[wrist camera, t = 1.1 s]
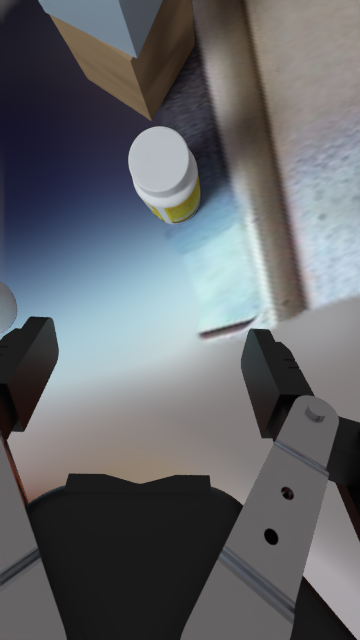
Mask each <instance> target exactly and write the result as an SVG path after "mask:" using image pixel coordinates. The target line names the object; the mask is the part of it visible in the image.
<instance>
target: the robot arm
mask: <svg viewBox="0 0 360 640" xmlns="http://www.w3.org/2000/svg"><path fill="white" fill-rule="evenodd" d="M58 354H59V349H58V343H57V338H56V332H55V327H54V322H53V319H52V318H50V317H29V319H28V320H27V321H26V323H25V324H24V325H23V327H22V328H21V329H18V328H15V329H14V330H12V331H11V332H9V333H8V334H6V335H5V336H3V338H2V339H1V340H0V640H357V639H356V638H355V637H354V635H353V634H352V633H351V632H350V631H349V629H348V628H347V627H346V626H345V625H344V624H343V622H342V621H341V620H340V619H339V618H338V616H337V615H336V614H335V613H334V612H333V611H332V609H331V608H330V607H329V606H328V605H327V603H326V602H325V601H324V600H323V599H322V597H321V596H320V595H319V594H318V593H317V592H316V590H315V589H314V588H313V587H312V586H311V584H310V583H309V582H308V581H307V580H306V579H305V577H304V576H303V572H304V568H305V564H306V560H307V557H308V553H309V549H310V545H311V542H312V538H313V534H314V530H315V527H316V523H317V519H318V515H319V512H320V508H321V504H322V500H323V497H324V493H325V489H326V485H327V481H328V480H330V481H333V482H335V483H336V485H337V488H338V490H339V493H340V495H341V497H342V500H343V502H344V505H345V507H346V510H347V512H348V514H349V517H350V519H351V522H352V524H353V526H354V529H355V532H356V534H357V536H358V539H359V541H360V423H359V422H356V421H352V420H349V419H346V418H342V417H339V416H338V415H337V413H336V411H335V410H334V409H333V408H332V407H331V406H330V405H329V404H328V403H327V402H325V401H324V400H322V399H320V398H317V397H315V396H314V394H313V392H312V390H311V388H310V386H309V384H308V383H307V381H306V379H305V377H304V375H303V373H302V372H301V370H300V369H299V366H298V364H297V362H295V359H294V357H293V355H292V353H291V351H290V350H289V349H288V348H287V347H286V346H285V345H284V344H282V343H281V342H275V340H274V338H273V336H272V334H271V332H270V330H268V329H250V330H249V332H248V335H247V339H246V343H245V346H244V350H243V354H242V358H241V369H242V373H243V377H244V380H245V383H246V387H247V390H248V393H249V397H250V400H251V404H252V407H253V410H254V413H255V417H256V420H257V424H258V427H259V430H260V433H261V437H262V438H272V439H273V442H274V444H273V446H272V448H271V450H270V453H269V455H268V457H267V459H266V461H265V463H264V465H263V467H262V469H261V471H260V473H259V475H258V477H257V479H256V481H255V483H254V486H253V488H252V490H251V492H250V494H249V496H248V498H247V500H246V502H245V504H244V506H243V505H242V504H241V503H240V502H238V501H237V500H236V499H235V498H233V497H232V496H231V495H229V494H227V493H225V492H224V491H221V490H219V489H217V488H214V487H211V485H210V476H209V475H174V476H170V477H166V478H162V479H158V480H155V481H151V482H147V483H143V484H137V483H133V482H130V481H126V480H123V479H120V478H116V477H113V476H109V475H105V474H69V475H68V479H67V482H66V485H65V486H61V487H58V488H56V489H53V490H50V491H49V492H46V493H45V494H42V495H41V496H39V497H38V498H36V499H35V500H33V501H32V502H30V503H29V500H28V498H27V495H26V493H25V490H24V487H23V484H22V482H21V479H20V476H19V473H18V470H17V467H16V465H15V462H14V459H13V456H12V453H11V450H10V448H9V445H8V442H7V439H8V437H9V435H10V433H11V431H14V432H24V430H25V429H26V427H27V424H28V422H29V420H30V418H31V416H32V414H33V412H34V410H35V407H36V405H37V403H38V401H39V399H40V397H41V394H42V393H43V391H44V389H45V386H46V384H47V382H48V380H49V378H50V376H51V374H52V371H53V369H54V367H55V365H56V363H57V360H58Z"/></svg>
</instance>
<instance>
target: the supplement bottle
mask: <svg viewBox="0 0 360 640" xmlns="http://www.w3.org/2000/svg"><path fill="white" fill-rule="evenodd" d="M129 169H130V172H131V175H132V178H133V183H134V186H135V189H136V191H137V193H138V194H139V196H140V197H141V198H142V200H143V201H144V202H145V203H146V205H148V207H149V208H150V210H151V211H152V212H153V213H154V214H155V216H156V217H157V218H159V219H160V220H161V221H163V222H165V223H169V224H180V223H183V222H186V221H187V220H189V219H190V218H191V217H192V216H193V215H194V214H195V213H196V211H197V209H198V207H199V204H200V199H201V191H200V184H199V177H198V169H197V164H196V161H195V158H194V156H193V154H192V153H191V151H190V150H189V149H188V147H187V144H186V142H185V141H184V139H183V138H182V137H181V135H180V134H178V133H177V132H176V131H174V130H173V129H170V128H168V127H161V126H159V127H152V128H150V129H147V130H145V131H144V132H142V133H141V134H140V135H139V136H138V137H137V138H136V139H135V141H134V142H133V144H132V146H131V149H130V152H129Z"/></svg>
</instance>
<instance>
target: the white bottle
mask: <svg viewBox="0 0 360 640" xmlns="http://www.w3.org/2000/svg"><path fill="white" fill-rule="evenodd" d="M16 316H17V305H16V300H15V298H14V296H13V293H12V292H11V291H10V289H9V288H8V287H7V286H6V285H4V284H3V283H1V282H0V334H2V333H4V332H5V331H6V330H8V329H9V328H10V327H11V325H12V324H13V322H14V321H15V319H16Z"/></svg>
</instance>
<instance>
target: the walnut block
mask: <svg viewBox="0 0 360 640" xmlns="http://www.w3.org/2000/svg"><path fill="white" fill-rule="evenodd" d="M50 16H51V18H52V19H53V21H54V23H55V25H56V26H57V28H58V30H59V31H60V33H61V35H62V36H63V38H64V40H65V41H66V43H67V45H68V46H69V48H70V50H71V51H72V53H73V55H74V56H75V58H76V60H77V61H78V63H79V65H80V67H81V68H82V70H83V72H84V73H85V75H86V77H87V78H88V79H89V80H91V81H92V82H94V83H95V84H97V85H98V86H100V87H101V88H103V89H104V90H106V91H108V92H109V93H110V94H112V95H113V96H115V97H116V98H118V99H120V100H121V101H122V102H124V103H125V104H127V105H128V106H130V107H132V108H133V109H134V110H136V111H138V112H139V113H141V114H142V115H144V116H145V117H147V118H148V119H150V120H151V121H152V119H153V117H154V116H155V114H156V112H157V110H158V109H159V107H160V105H161V104H162V102H163V100H164V98H165V97H166V95H167V93H168V91H169V90H170V88H171V86H172V84H173V83H174V81H175V79H176V77H177V76H178V74H179V72H180V70H181V69H182V67H183V65H184V63H185V62H186V60H187V58H188V57H189V55H190V53H191V51H192V50H193V48H194V46H195V39H194V24H193V8H192V0H163V1H162V3H161V6H160V8H159V10H158V12H157V15H156V17H155V19H154V22H153V24H152V26H151V28H150V31H149V33H148V35H147V38H146V40H145V42H144V45H143V47H142V49H141V51H140V54H139V56H138V58H135V57H133V56H131V55H129V54H127V53H125V52H123V51H121V50H119V49H117V48H115V47H113V46H111V45H109V44H107V43H105V42H103V41H101V40H99V39H97V38H95V37H93V36H91V35H89V34H87V33H86V32H84V31H82V30H80V29H78V28H76V27H74V26H72V25H70V24H68V23H66V22H64V21H62V20H60V19H58V18H56V17H54V16H52V15H50Z"/></svg>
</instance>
